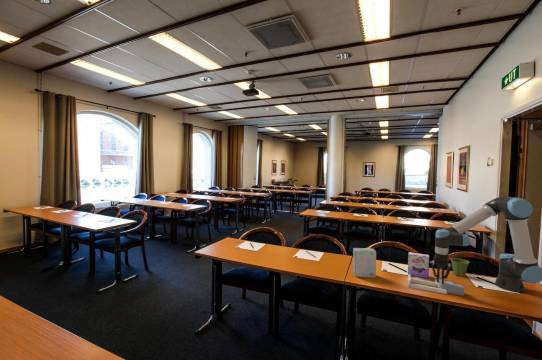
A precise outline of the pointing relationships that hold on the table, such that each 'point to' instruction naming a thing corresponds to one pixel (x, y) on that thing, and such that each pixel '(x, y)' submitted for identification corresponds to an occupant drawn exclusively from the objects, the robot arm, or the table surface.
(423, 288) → the shelf bay
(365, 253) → the hard drive box
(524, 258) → the robot arm
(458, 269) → the plant pot
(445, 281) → the mat
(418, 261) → the candy box
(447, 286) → the blank
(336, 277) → the table surface
